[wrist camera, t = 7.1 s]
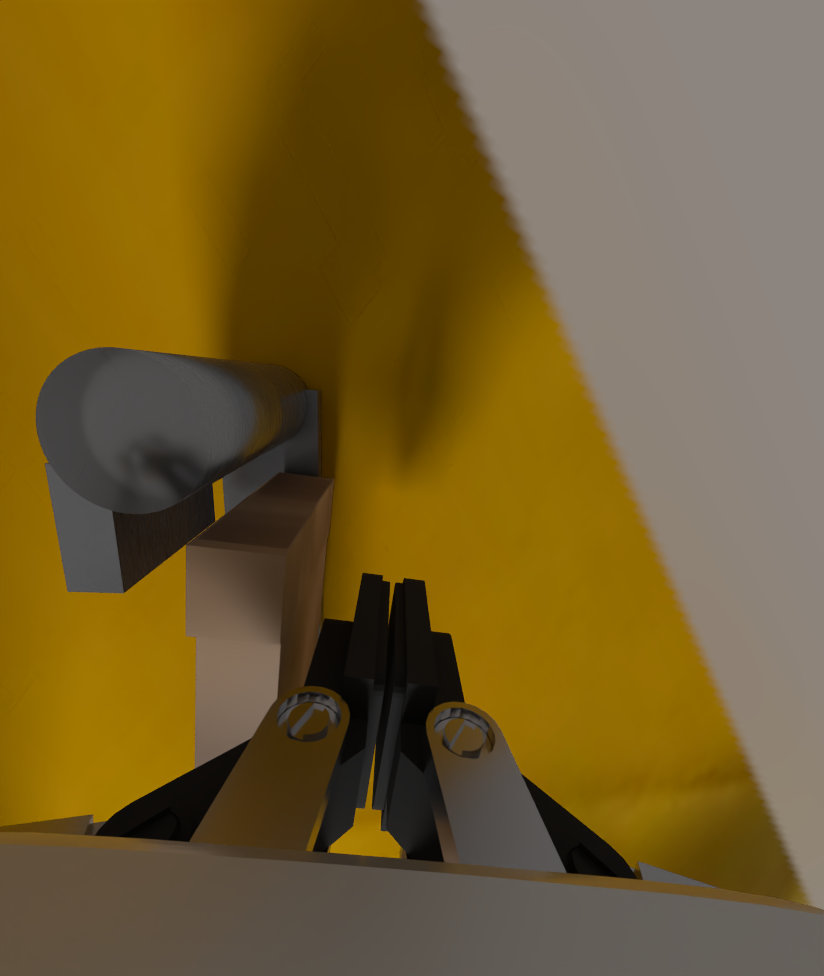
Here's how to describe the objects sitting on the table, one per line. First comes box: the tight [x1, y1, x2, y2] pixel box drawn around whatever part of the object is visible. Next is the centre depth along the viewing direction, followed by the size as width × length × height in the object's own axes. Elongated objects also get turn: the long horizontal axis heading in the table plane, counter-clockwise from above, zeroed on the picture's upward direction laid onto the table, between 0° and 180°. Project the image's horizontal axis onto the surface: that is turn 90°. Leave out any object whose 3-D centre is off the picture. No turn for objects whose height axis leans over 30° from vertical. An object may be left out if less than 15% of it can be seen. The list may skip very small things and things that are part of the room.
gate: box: [186, 472, 334, 768], centre depth 12 cm, size 12×2×6 cm, turn 172°
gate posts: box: [36, 347, 323, 638], centre depth 12 cm, size 18×4×8 cm, turn 177°
